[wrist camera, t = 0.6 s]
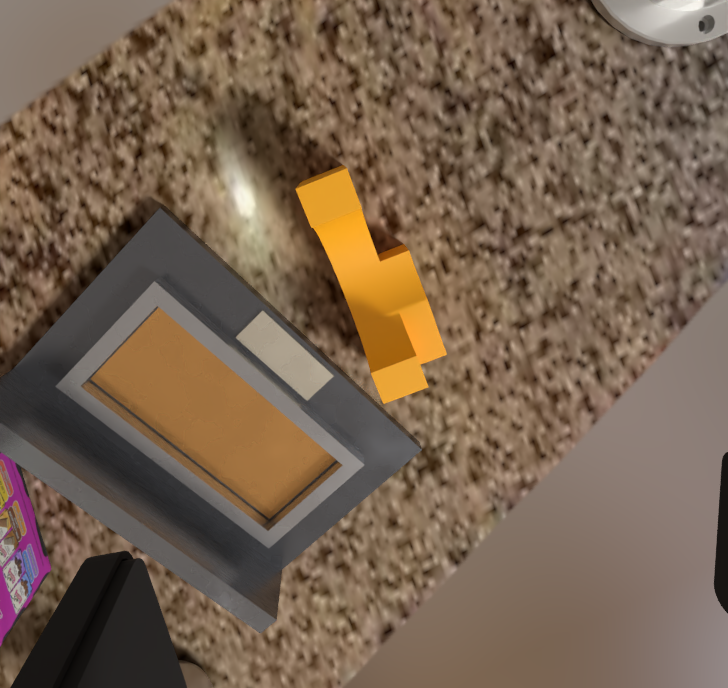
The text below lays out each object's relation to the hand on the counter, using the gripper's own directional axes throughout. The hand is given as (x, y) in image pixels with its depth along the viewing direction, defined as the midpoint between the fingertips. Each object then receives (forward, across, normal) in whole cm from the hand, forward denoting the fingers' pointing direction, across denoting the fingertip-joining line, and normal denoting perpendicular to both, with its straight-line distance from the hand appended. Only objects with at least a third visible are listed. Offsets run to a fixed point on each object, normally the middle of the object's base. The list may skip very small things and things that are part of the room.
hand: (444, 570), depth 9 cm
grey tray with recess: (+26, +10, +8) cm, 29 cm away
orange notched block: (+27, -1, 0) cm, 27 cm away
